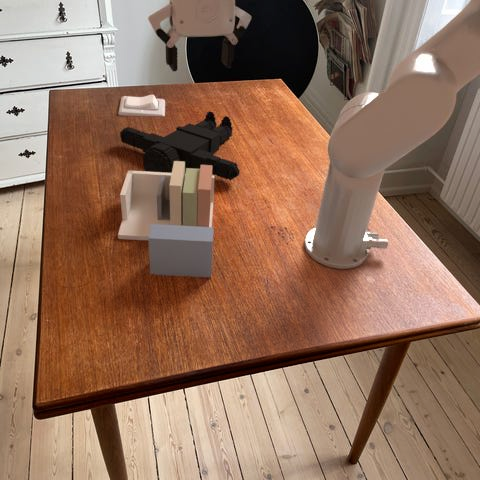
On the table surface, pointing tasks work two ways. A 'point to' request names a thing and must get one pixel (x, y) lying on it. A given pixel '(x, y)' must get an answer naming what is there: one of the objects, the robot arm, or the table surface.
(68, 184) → the table surface
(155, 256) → the grey block
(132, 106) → the light switch
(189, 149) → the toy
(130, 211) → the shelf
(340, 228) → the robot arm
